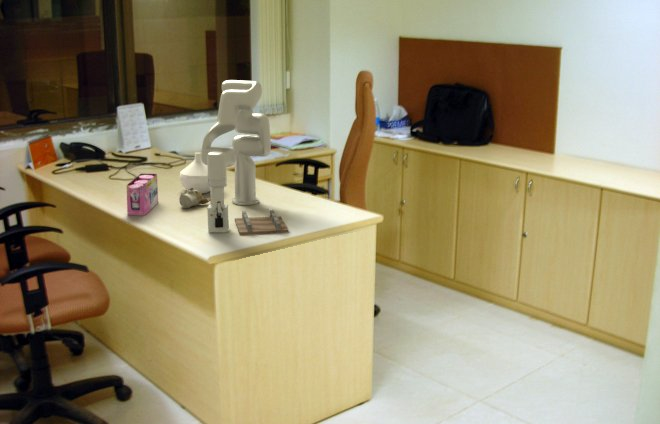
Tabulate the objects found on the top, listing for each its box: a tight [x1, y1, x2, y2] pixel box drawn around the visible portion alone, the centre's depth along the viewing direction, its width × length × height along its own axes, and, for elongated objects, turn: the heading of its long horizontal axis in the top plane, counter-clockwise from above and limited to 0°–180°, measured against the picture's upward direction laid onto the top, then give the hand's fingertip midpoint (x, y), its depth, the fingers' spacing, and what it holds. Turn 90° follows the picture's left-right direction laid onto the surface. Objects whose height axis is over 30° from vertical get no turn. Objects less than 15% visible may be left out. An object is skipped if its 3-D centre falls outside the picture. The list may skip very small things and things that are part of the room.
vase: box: [179, 151, 210, 195], centre depth 376 cm, size 18×18×19 cm
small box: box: [206, 203, 230, 233], centre depth 318 cm, size 8×6×10 cm
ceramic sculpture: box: [179, 188, 210, 209], centre depth 354 cm, size 11×9×15 cm
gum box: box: [126, 173, 159, 217], centre depth 346 cm, size 24×8×14 cm, turn 177°
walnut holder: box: [234, 209, 289, 236], centre depth 325 cm, size 20×20×4 cm
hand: (218, 224), depth 319 cm, fingers closed on small box, 6 cm apart
